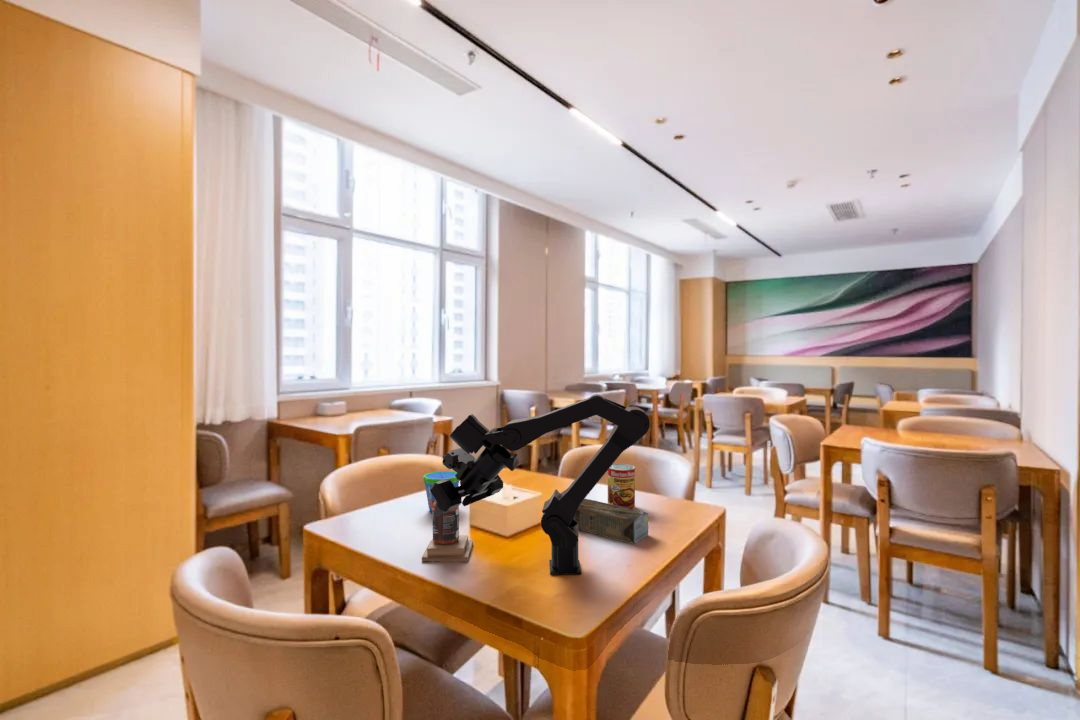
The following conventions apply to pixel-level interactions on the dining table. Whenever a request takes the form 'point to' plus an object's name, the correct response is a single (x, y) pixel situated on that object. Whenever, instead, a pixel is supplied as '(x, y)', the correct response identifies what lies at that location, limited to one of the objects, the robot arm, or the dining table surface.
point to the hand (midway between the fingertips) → (449, 509)
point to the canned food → (621, 485)
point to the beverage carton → (612, 521)
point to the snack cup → (436, 477)
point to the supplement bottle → (446, 527)
